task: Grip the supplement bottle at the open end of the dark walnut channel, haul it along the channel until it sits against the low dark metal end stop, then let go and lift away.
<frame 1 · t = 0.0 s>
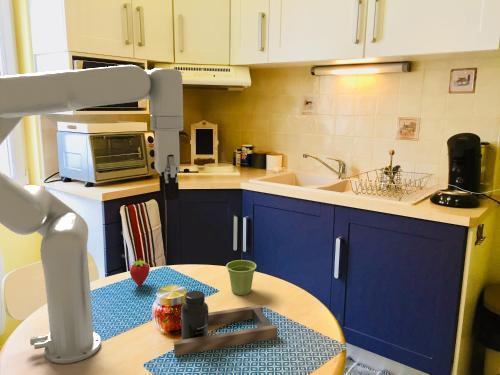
hand: (168, 195, 103), 37 cm above the table, tool pointing down, fingers open, 9 cm apart
channel: (221, 333, 110), on the table
strawberry: (140, 286, 137), on the table
supplement bottle: (195, 338, 108), resting in channel
plant pot: (241, 291, 134), on the table
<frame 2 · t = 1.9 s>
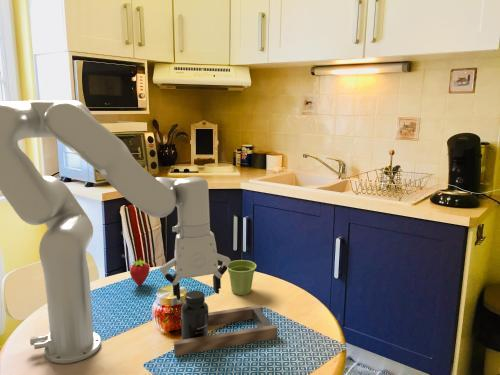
hand: (197, 294, 106), 12 cm above the table, tool pointing down, fingers open, 9 cm apart
nothing on the table moved.
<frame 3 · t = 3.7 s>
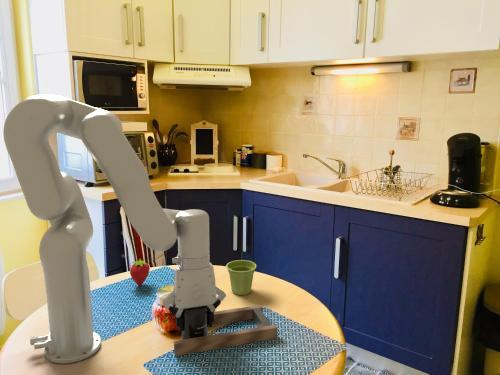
hand: (195, 326, 107), 3 cm above the table, tool pointing down, fingers closed on supplement bottle, 6 cm apart
supplement bottle: (195, 338, 108), resting in channel, touching gripper
everything else where it was.
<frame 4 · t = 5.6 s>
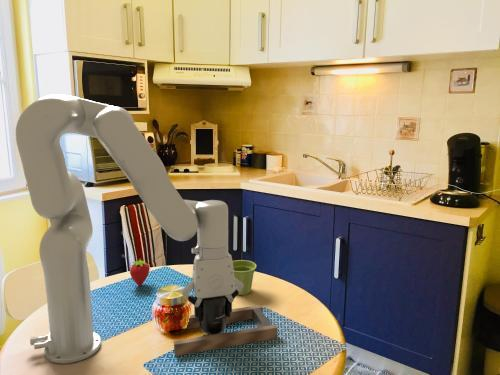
hand: (213, 316, 109), 5 cm above the table, tool pointing down, fingers closed on supplement bottle, 6 cm apart
supplement bottle: (213, 328, 109), point 2 cm above the table, touching gripper
everything else where it was.
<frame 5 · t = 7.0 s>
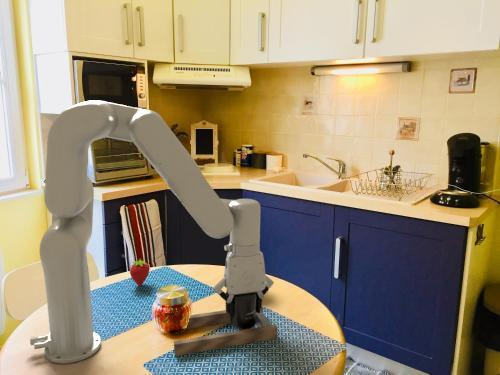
hand: (243, 312, 111), 5 cm above the table, tool pointing down, fingers closed on supplement bottle, 6 cm apart
supplement bottle: (243, 324, 112), point 2 cm above the table, touching gripper
everything else where it was.
when the fingers open (4 cm above the table, at t = 8.0 s): supplement bottle stays where it is, resting in channel.
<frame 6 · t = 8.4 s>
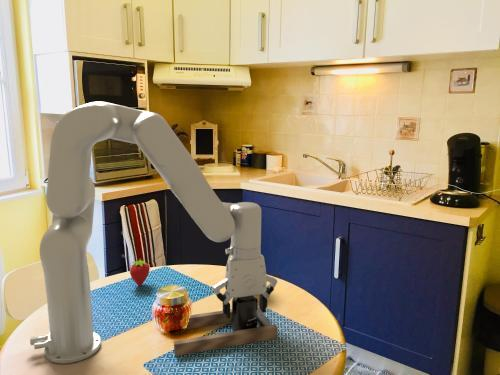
hand: (245, 313, 111), 5 cm above the table, tool pointing down, fingers open, 9 cm apart
supplement bottle: (244, 330, 112), resting in channel
everything else where it was.
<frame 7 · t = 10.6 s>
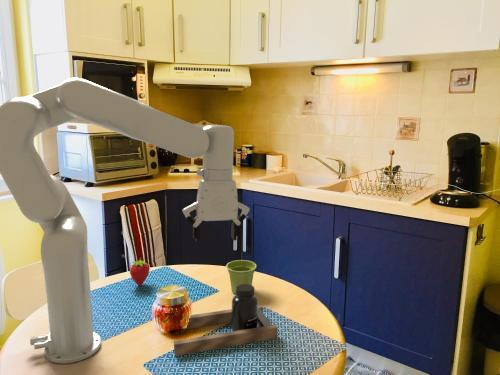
hand: (215, 239, 110), 24 cm above the table, tool pointing down, fingers open, 9 cm apart
nothing on the table moved.
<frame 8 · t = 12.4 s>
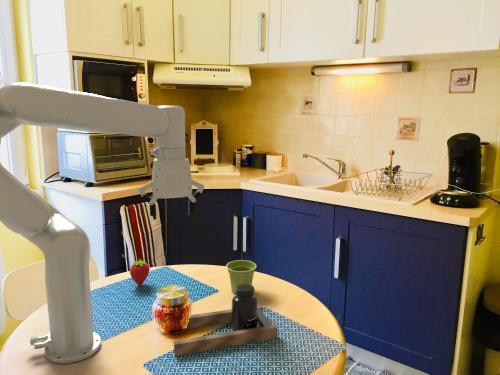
hand: (172, 217, 114), 28 cm above the table, tool pointing down, fingers open, 9 cm apart
nothing on the table moved.
at the end: supplement bottle 0.0 cm from the target spot, resting in channel; supplement bottle tilted 0°; the gripper is holding nothing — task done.
